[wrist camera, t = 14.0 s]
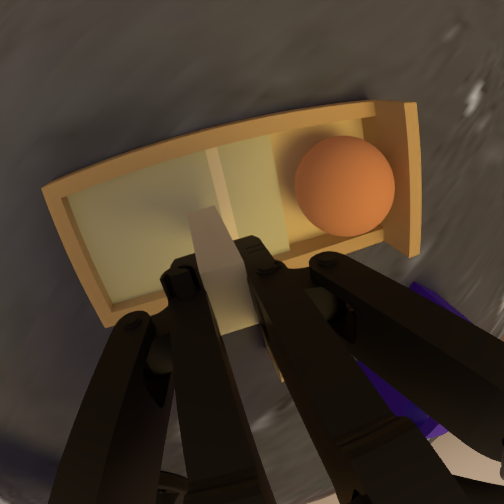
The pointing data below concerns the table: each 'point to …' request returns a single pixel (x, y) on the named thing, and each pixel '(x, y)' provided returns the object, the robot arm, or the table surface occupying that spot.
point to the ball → (344, 186)
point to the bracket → (396, 399)
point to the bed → (223, 198)
